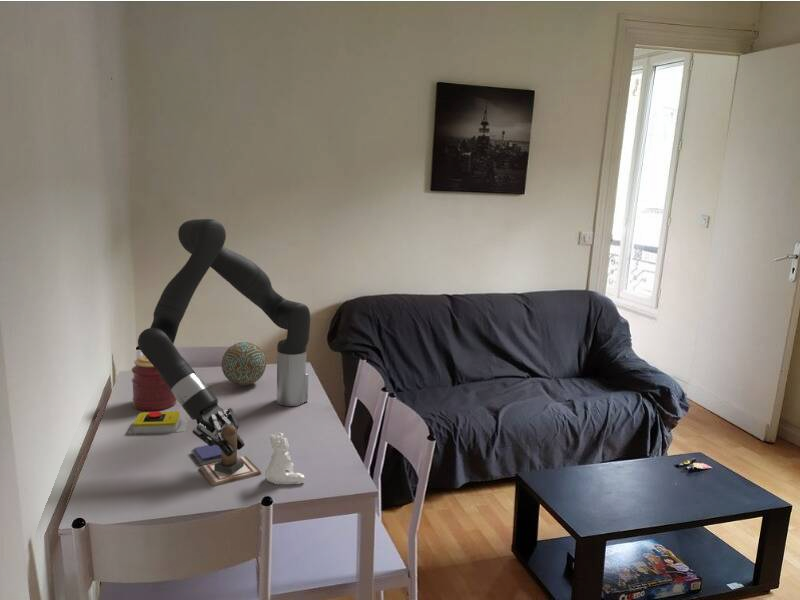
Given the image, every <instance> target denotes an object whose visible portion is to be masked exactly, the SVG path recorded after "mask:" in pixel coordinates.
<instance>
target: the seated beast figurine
mask: <svg viewBox="0 0 800 600" xmlns="http://www.w3.org/2000/svg"><path fill="white" fill-rule="evenodd" d="M288 440H289V439H288V437H287V438H286V437H285V436H284V433H282V432H281V431H280V432H277V433H275V434H270V437H269V441H270V445H271V448H272V449H273V453H272V454H271V456H270V460H269V463H268V465H267V467H266V470H264V476H265V478H266V480H267V481H268V482H270V483H271V484H273V483H274V485H276V484H277V485H279V484H281V485H285V484H284V483H299V482H304V483H305V481H306V480H305V474H302V473H301V472H294V468H295V465H294V462H292V461H291V460H292V458H291V456H290V453H289V450H288V449H289V448H290V444H289V441H288Z"/></svg>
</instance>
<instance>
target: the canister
mask: <svg viewBox="0 0 800 600" xmlns="http://www.w3.org/2000/svg"><path fill="white" fill-rule="evenodd" d="M133 364H135V365H134V366H132V368H131V372H132V373H133V376H132V379H131V382H132V403H133V407H134V408H135V409H137V410H139V411H145V410H146V412H155V411H161V410H166V409H168V408H171V407H173V406H175V405H176V404H177V399H176V398H175V396H174V394H173V392H172V391H171V390H170V388H169V387H168V386H167V384H166V383H165V382H164V380H163V379H162V377H161V376H160V374H159V372H158V371H157V369H156V368H155V367H154V366H153V365H152V364H151V362H150V361H149V360H148V359H147V358H146V357H145V356H144V354H142V355H141V356H139V357H138V358H136V359H135V360H134V362H133Z"/></svg>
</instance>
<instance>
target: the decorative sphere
mask: <svg viewBox="0 0 800 600" xmlns="http://www.w3.org/2000/svg"><path fill="white" fill-rule="evenodd" d="M266 367H267V360H266V356H265V354H264V352H263V350H262V349H261V348H260V347H259V346H257V345H256V344H254V343H251V342H247V341H245V342H244V341H243V342H237V343H235V344H233V345H231V346H230V347H228V348H227V349H226V351H225V352H224V354H223V356H222V359H221V371H222V373H223V375H224V377H225V378H226V379H227V380H228V381H229V382H231V383H232V384H234V385H237V386H250V385H252V384H254V383H256V382H258V381H259V380H260V379H261V378H262V376H263V375H264V373H265V370H266Z"/></svg>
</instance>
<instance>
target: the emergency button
mask: <svg viewBox="0 0 800 600" xmlns="http://www.w3.org/2000/svg"><path fill="white" fill-rule="evenodd" d="M188 422H189V419H187V418H181V413H180V411H158V410H155V411H146V412H145V411H144V412H139V413H138V415H137V417H136V418H135V421H133V423H132V424H131V426H130V429H129V430H128V432H127V434H130V435H134V434H133V433H144V434H166V433H167V434H168V433H172V434H173V433H184V432H185V430H186V428H187V425H188Z"/></svg>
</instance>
